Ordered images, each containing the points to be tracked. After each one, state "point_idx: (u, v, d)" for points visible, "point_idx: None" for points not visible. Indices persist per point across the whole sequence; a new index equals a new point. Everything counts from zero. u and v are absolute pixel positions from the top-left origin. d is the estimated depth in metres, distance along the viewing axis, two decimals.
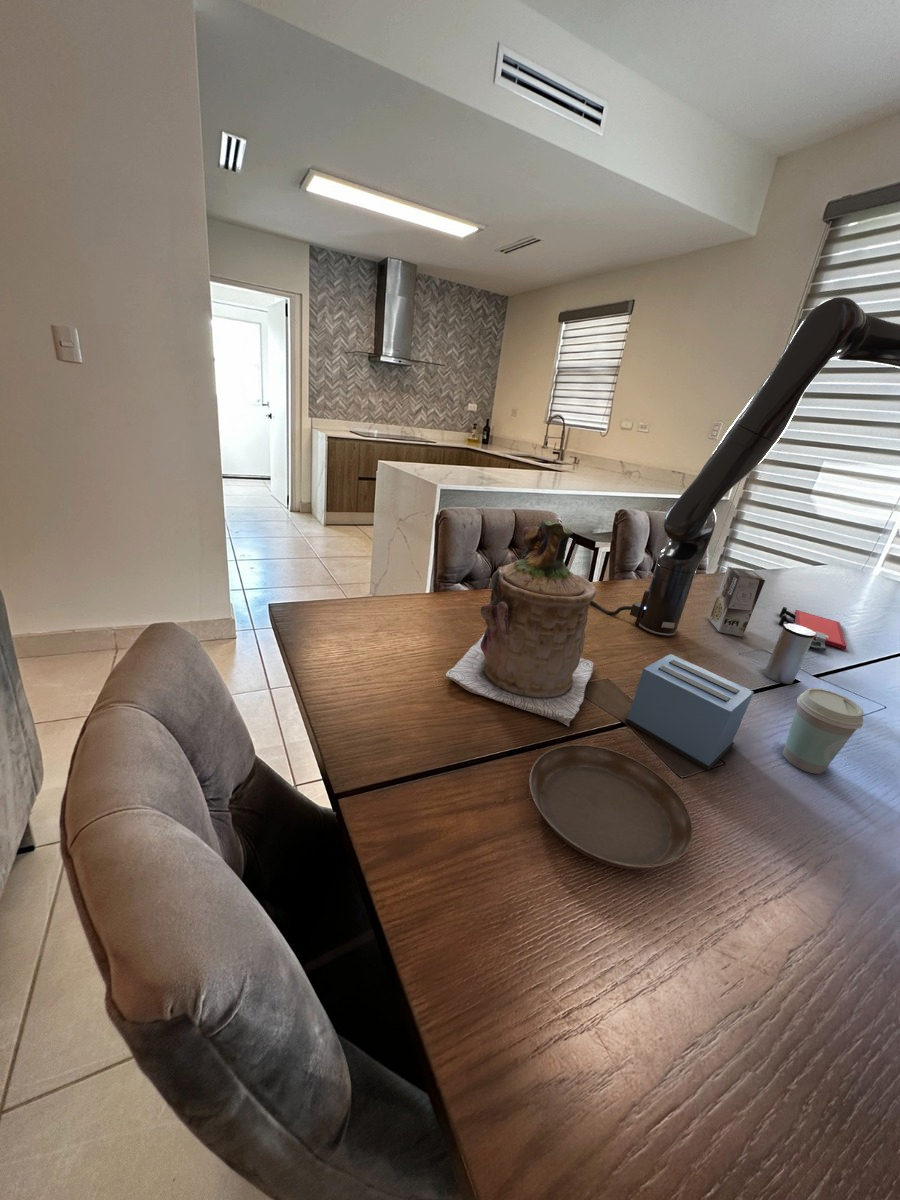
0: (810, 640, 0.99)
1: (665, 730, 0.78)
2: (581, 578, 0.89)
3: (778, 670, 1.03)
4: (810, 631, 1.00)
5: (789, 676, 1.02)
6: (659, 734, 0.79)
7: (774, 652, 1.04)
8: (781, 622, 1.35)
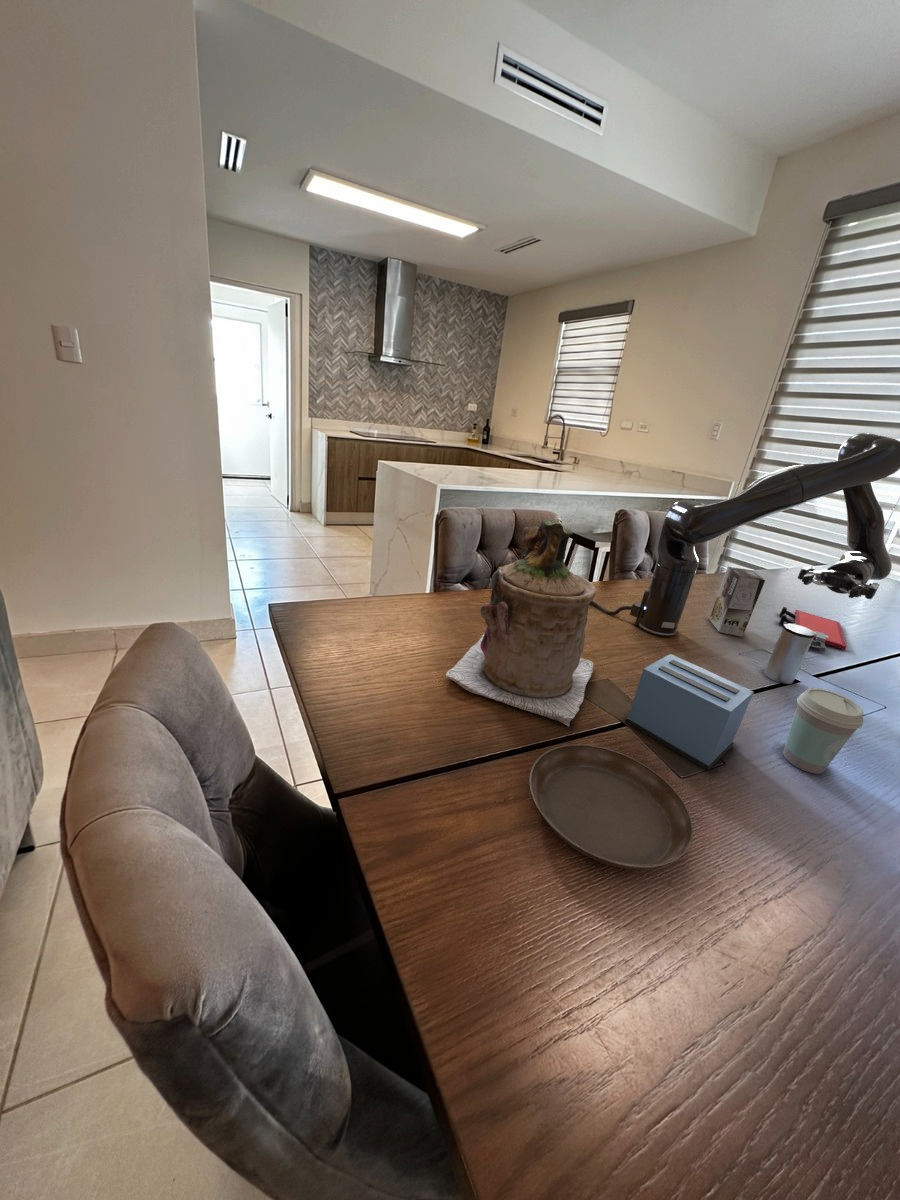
0: (810, 640, 0.99)
1: (665, 730, 0.78)
2: (581, 578, 0.89)
3: (778, 670, 1.03)
4: (810, 631, 1.00)
5: (789, 676, 1.02)
6: (659, 734, 0.79)
7: (774, 652, 1.04)
8: (781, 622, 1.35)
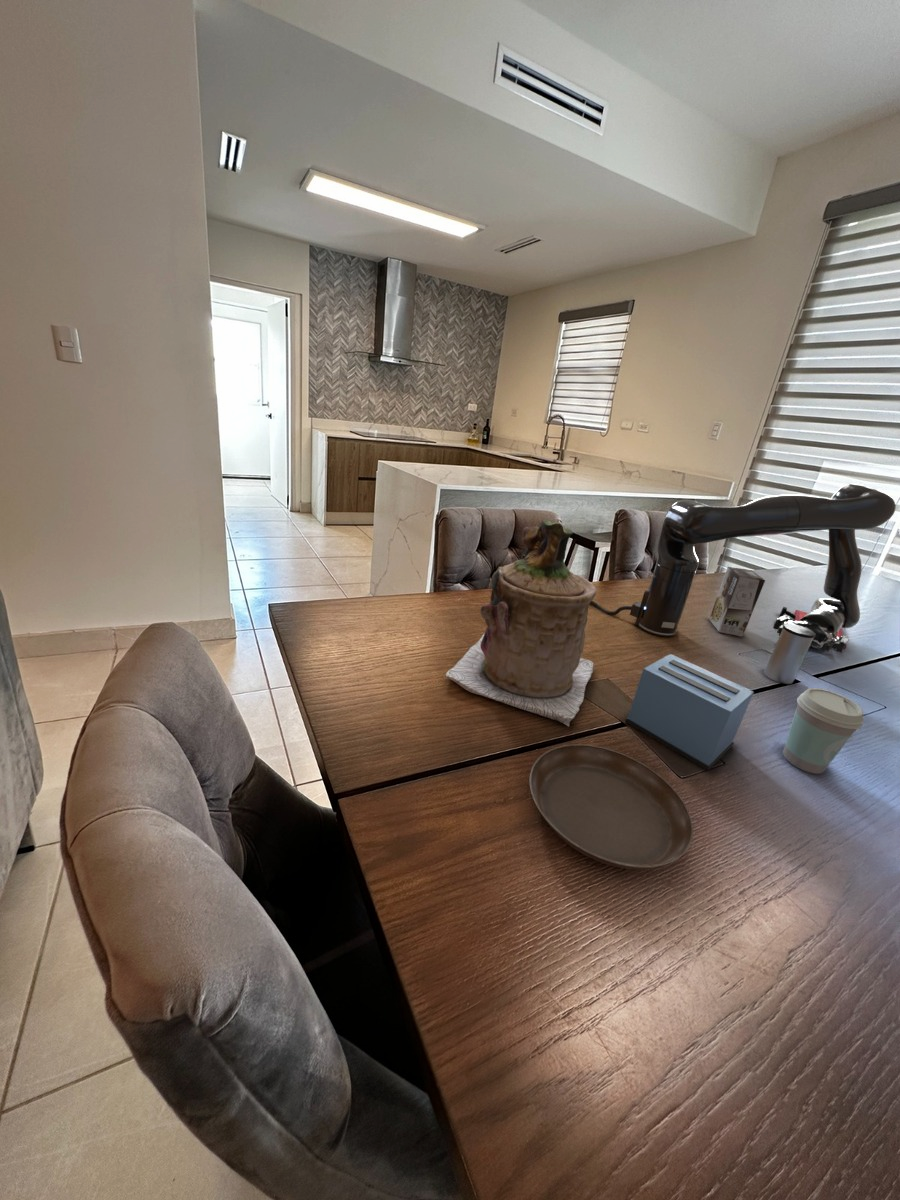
0: (810, 640, 0.99)
1: (665, 730, 0.78)
2: (581, 578, 0.89)
3: (778, 670, 1.03)
4: (810, 631, 1.00)
5: (789, 676, 1.02)
6: (659, 734, 0.79)
7: (774, 652, 1.04)
8: None
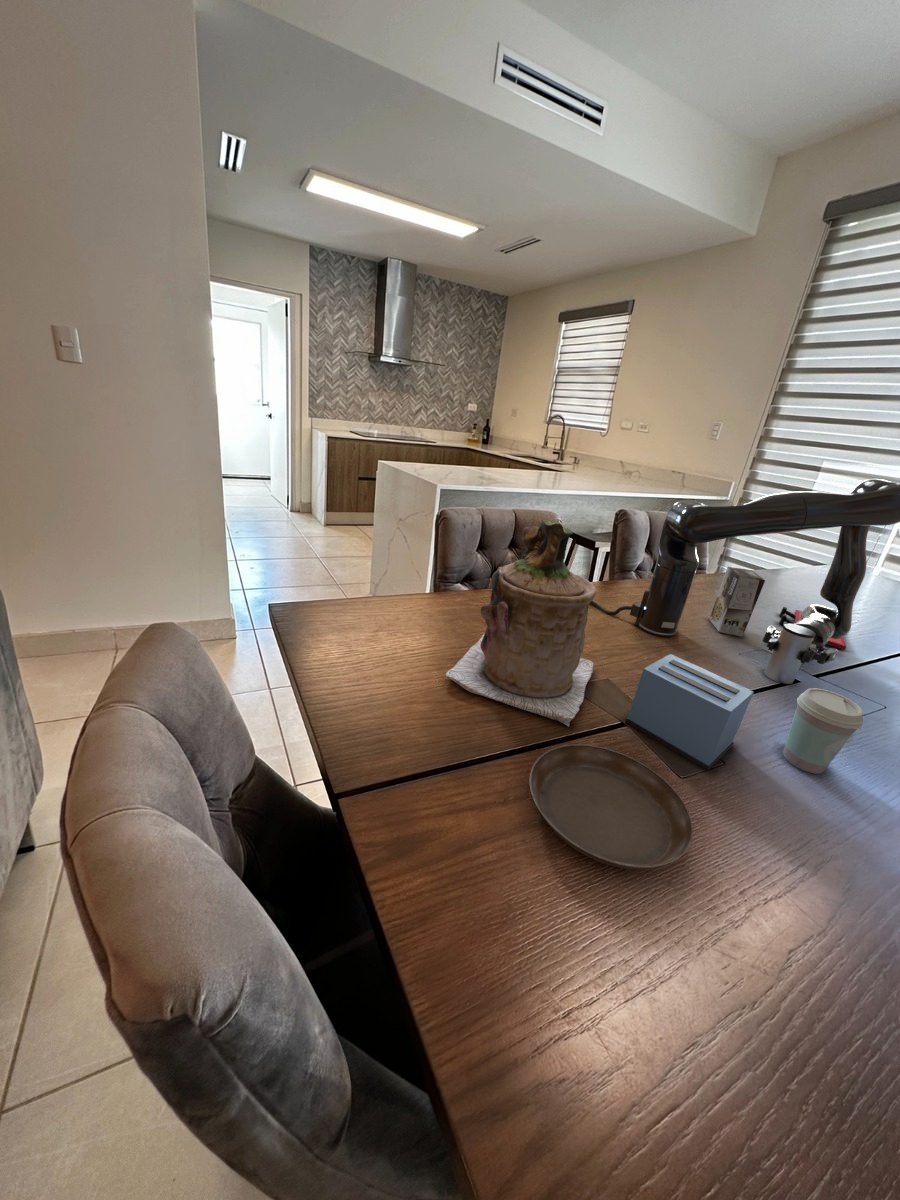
0: (810, 640, 0.99)
1: (665, 730, 0.78)
2: (581, 578, 0.89)
3: (778, 670, 1.03)
4: (810, 631, 1.00)
5: (789, 676, 1.02)
6: (659, 734, 0.79)
7: (774, 652, 1.04)
8: (781, 622, 1.35)
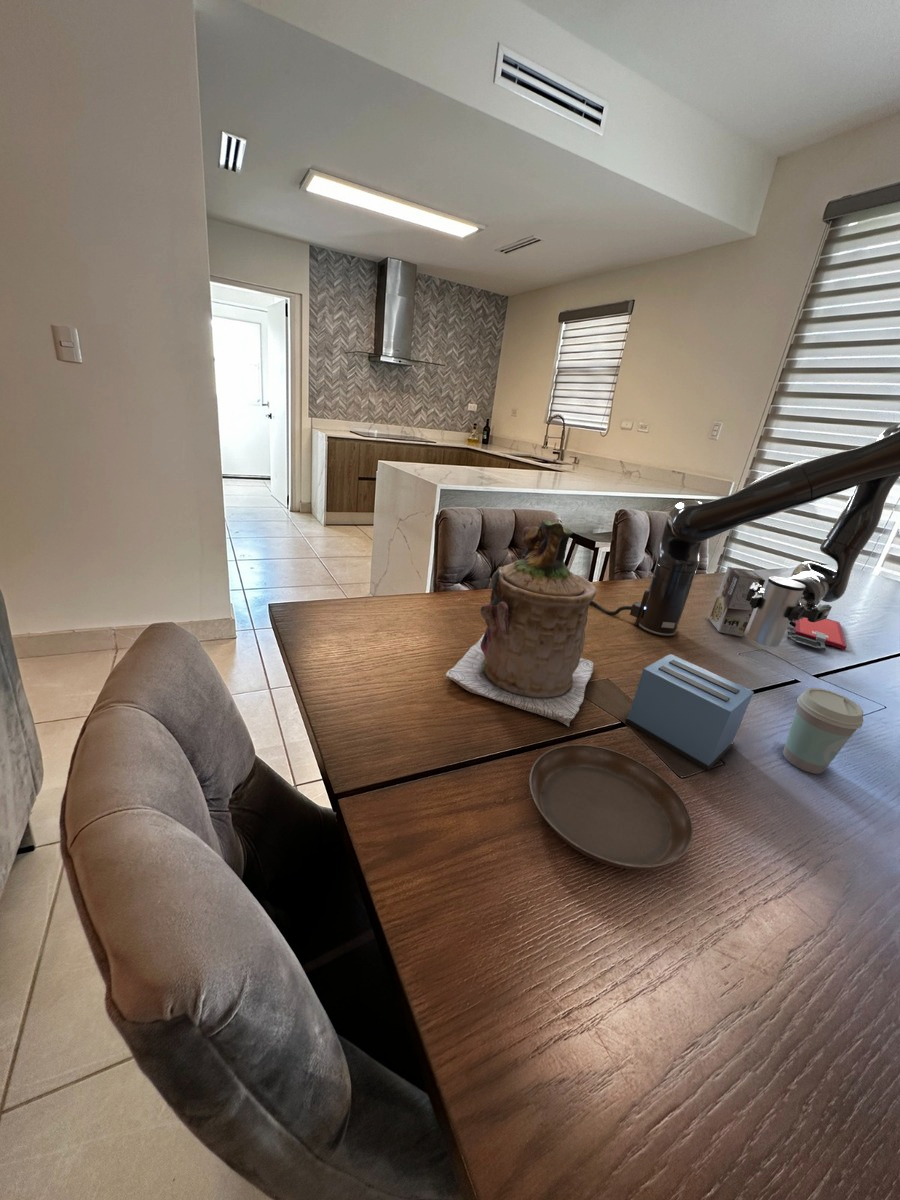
0: (799, 593, 0.85)
1: (665, 730, 0.78)
2: (581, 578, 0.89)
3: (763, 630, 0.88)
4: (799, 584, 0.86)
5: (776, 637, 0.88)
6: (659, 734, 0.79)
7: (758, 610, 0.89)
8: None
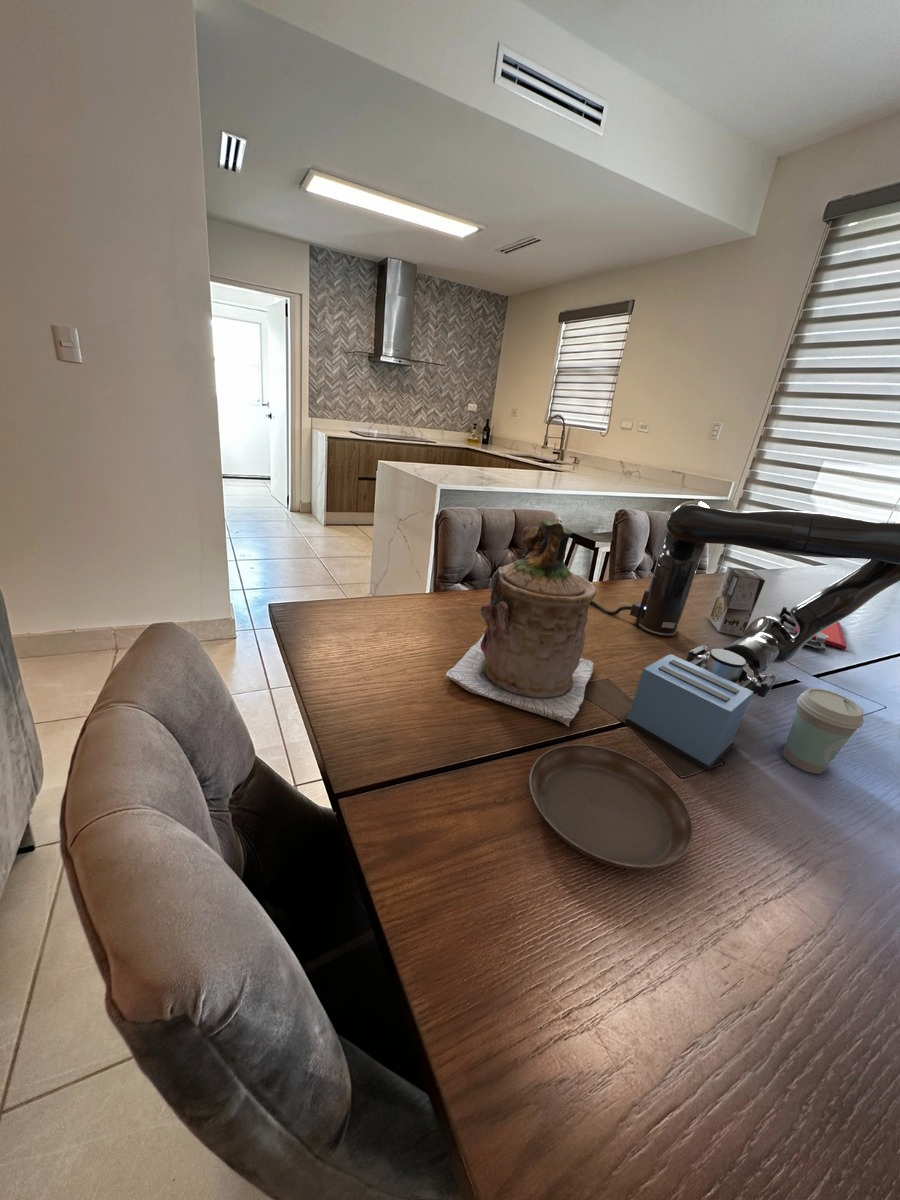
0: (739, 670, 0.82)
1: (665, 730, 0.78)
2: (581, 578, 0.89)
3: None
4: (740, 659, 0.84)
5: None
6: (659, 734, 0.79)
7: None
8: (781, 622, 1.35)
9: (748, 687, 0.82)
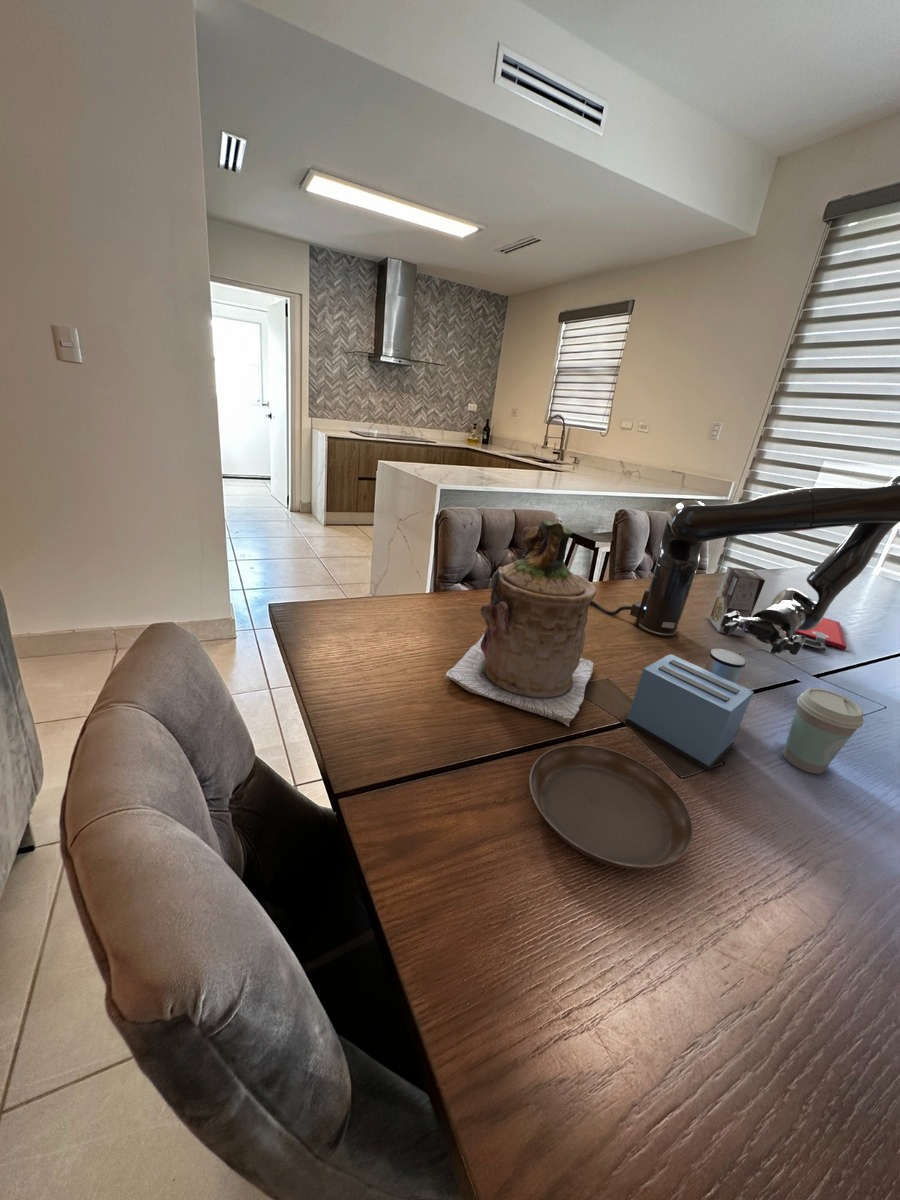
0: (739, 670, 0.82)
1: (665, 730, 0.78)
2: (581, 578, 0.89)
3: None
4: (740, 659, 0.84)
5: None
6: (659, 734, 0.79)
7: None
8: None
9: (782, 645, 0.90)
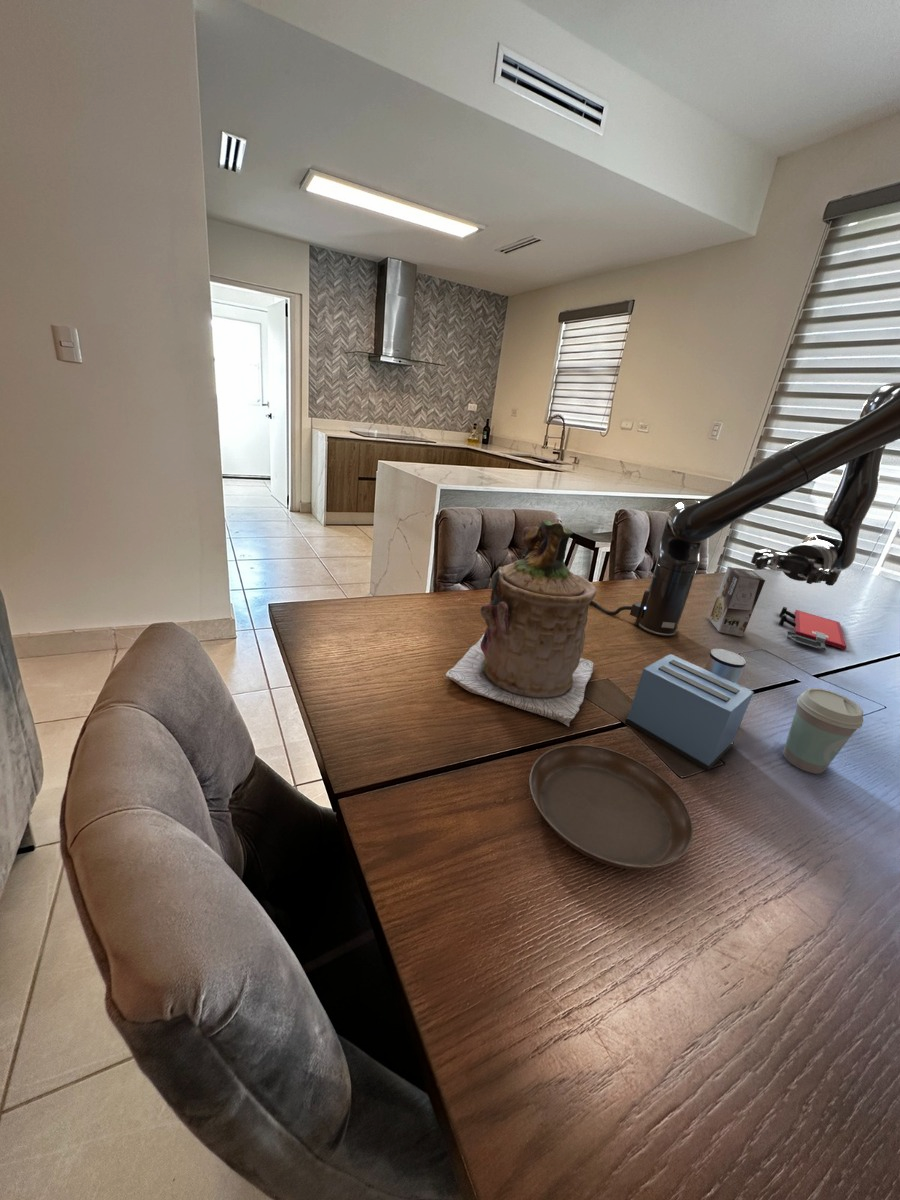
0: (739, 670, 0.82)
1: (665, 730, 0.78)
2: (581, 578, 0.89)
3: None
4: (740, 659, 0.84)
5: None
6: (659, 734, 0.79)
7: None
8: (781, 622, 1.35)
9: (818, 574, 0.87)
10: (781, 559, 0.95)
